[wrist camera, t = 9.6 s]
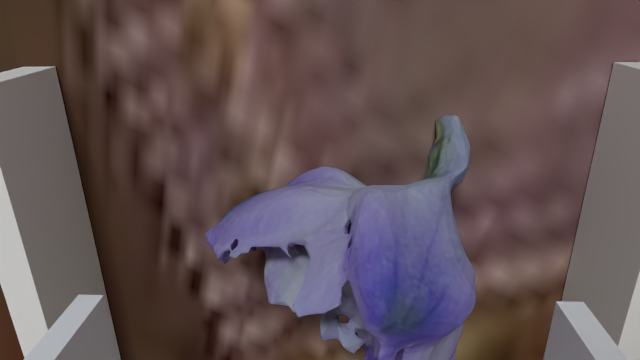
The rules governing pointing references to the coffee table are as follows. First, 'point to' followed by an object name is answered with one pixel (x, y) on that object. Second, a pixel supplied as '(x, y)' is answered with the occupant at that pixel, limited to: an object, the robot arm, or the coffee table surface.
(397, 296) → the flower
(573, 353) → the robot arm
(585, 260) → the bay
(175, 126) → the coffee table surface
